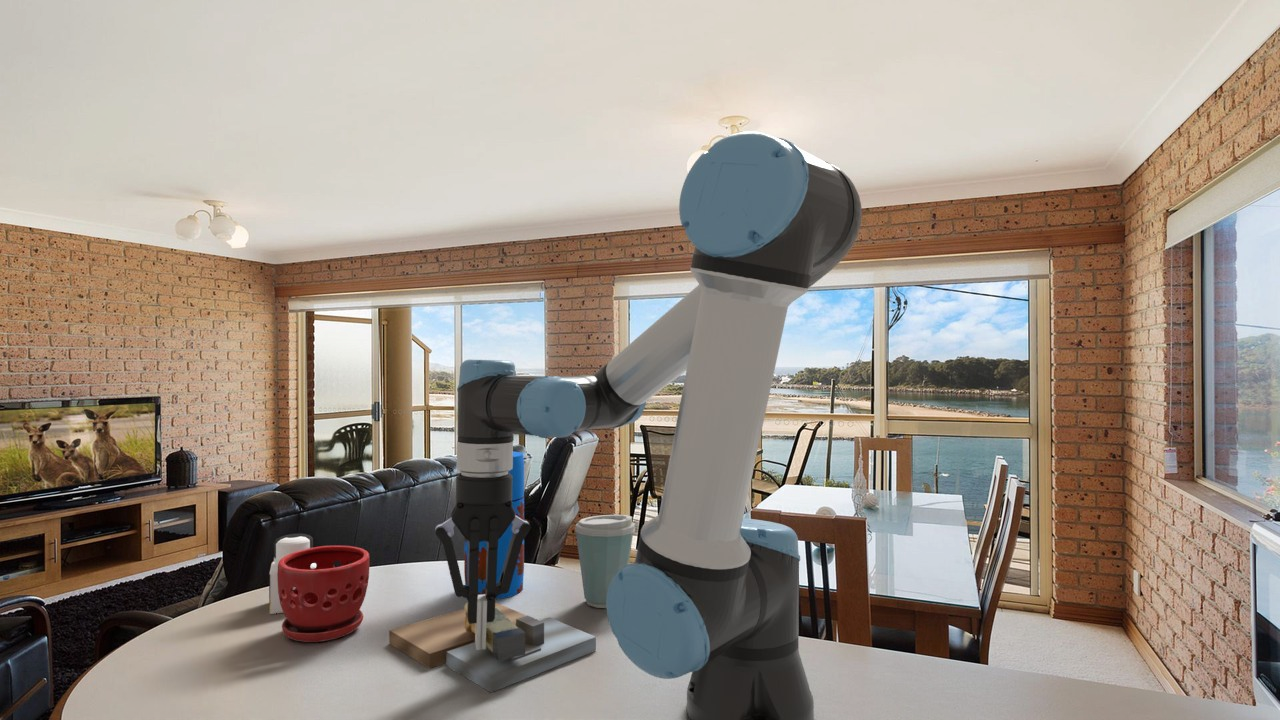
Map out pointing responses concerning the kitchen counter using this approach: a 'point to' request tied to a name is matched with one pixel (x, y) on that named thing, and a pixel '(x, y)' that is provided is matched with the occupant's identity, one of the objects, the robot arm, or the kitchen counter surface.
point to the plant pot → (322, 592)
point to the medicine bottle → (281, 549)
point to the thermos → (504, 538)
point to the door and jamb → (457, 649)
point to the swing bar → (501, 636)
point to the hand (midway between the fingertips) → (480, 645)
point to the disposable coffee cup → (602, 553)
